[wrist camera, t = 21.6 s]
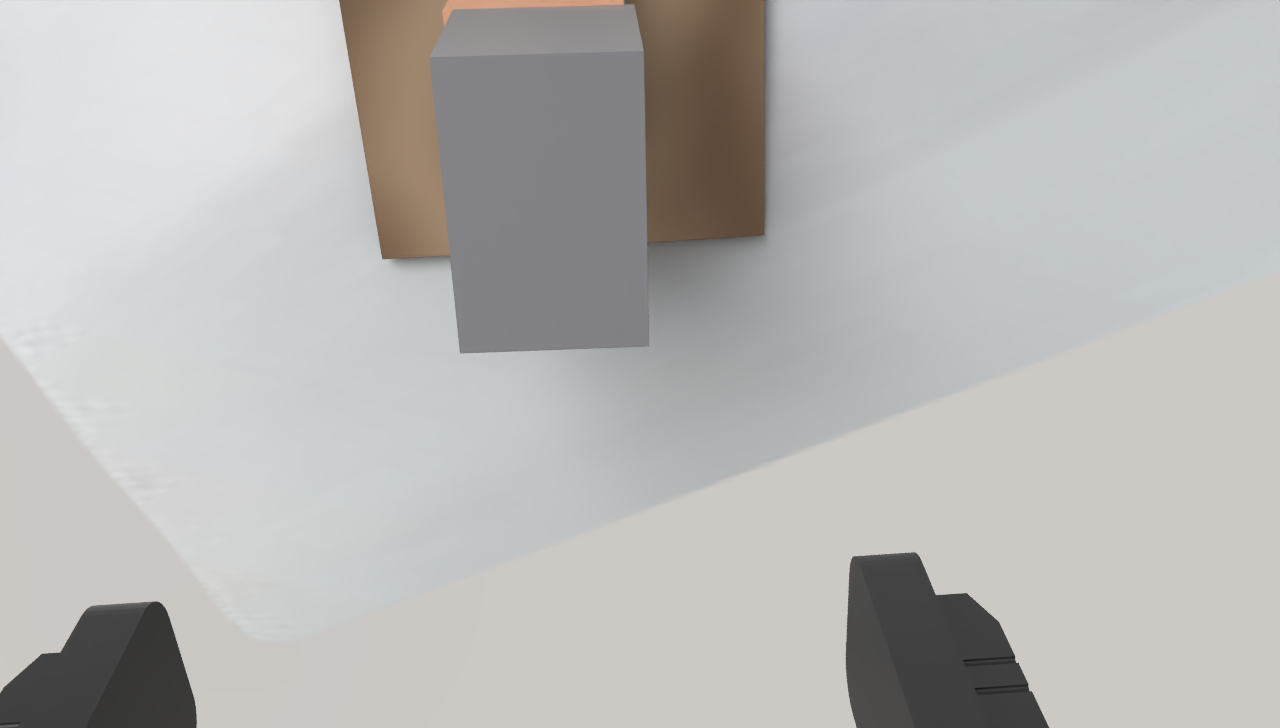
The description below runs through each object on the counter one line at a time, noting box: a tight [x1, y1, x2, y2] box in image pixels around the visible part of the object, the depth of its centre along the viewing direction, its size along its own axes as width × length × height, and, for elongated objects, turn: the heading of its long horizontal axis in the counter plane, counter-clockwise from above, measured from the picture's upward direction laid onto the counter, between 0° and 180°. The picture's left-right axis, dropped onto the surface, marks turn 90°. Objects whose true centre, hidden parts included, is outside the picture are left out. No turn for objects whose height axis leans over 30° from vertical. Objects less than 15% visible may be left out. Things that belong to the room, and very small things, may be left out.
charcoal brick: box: [429, 4, 649, 353], centre depth 28 cm, size 4×7×5 cm, turn 1°
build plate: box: [339, 0, 764, 259], centre depth 38 cm, size 14×14×6 cm
